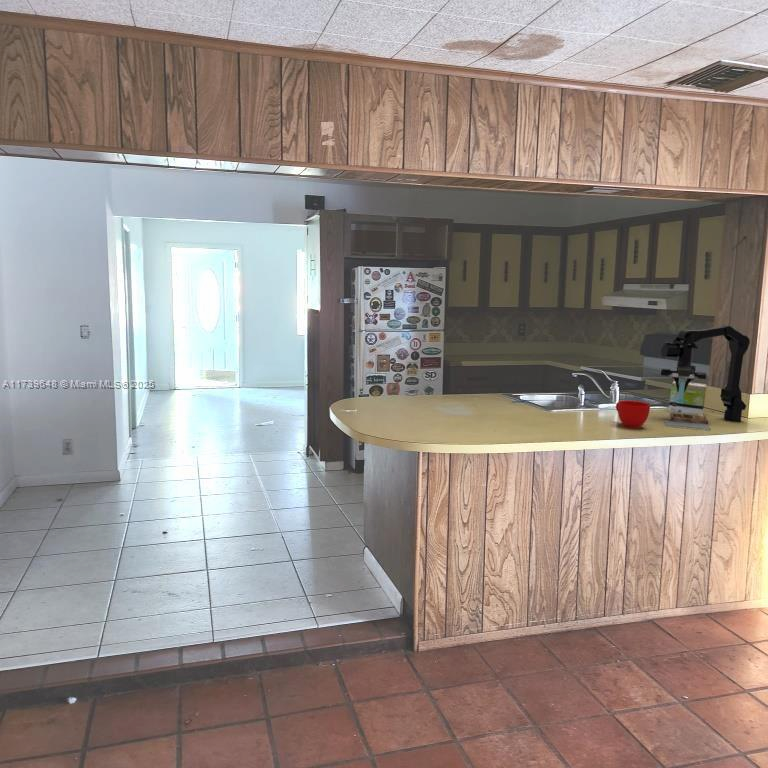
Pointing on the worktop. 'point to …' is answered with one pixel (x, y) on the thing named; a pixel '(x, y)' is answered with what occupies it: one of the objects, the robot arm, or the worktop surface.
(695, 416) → the offcut upper
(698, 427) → the mat
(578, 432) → the worktop surface
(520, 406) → the worktop surface
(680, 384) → the teal flat block
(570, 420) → the worktop surface
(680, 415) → the tray
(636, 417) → the ceramic cup
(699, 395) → the tea box
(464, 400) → the worktop surface
